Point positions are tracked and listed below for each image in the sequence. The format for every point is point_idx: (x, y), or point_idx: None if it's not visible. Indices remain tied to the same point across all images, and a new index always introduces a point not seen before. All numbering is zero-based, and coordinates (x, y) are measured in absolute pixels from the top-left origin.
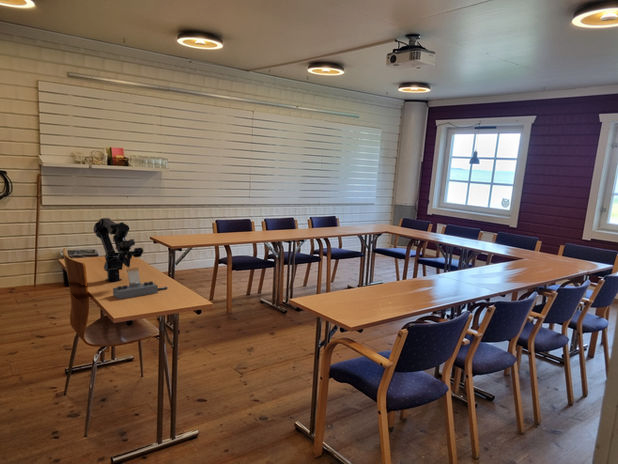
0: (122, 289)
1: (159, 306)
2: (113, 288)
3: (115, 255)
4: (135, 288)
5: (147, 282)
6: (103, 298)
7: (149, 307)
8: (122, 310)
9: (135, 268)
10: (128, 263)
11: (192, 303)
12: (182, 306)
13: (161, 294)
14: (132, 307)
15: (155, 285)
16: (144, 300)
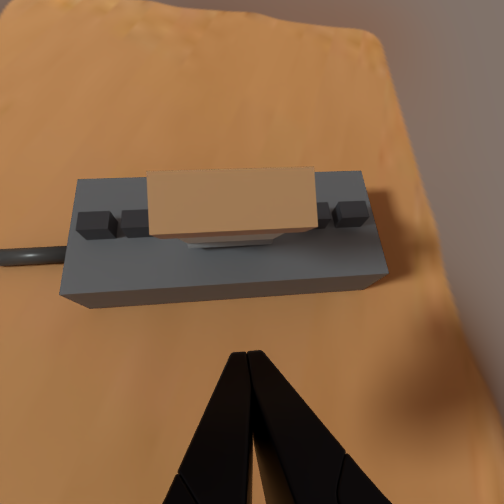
0: (330, 205)
1: (199, 44)
2: (385, 262)
3: None
4: None
5: (126, 213)
6: (418, 269)
7: (240, 52)
8: (347, 72)
9: (198, 174)
10: (250, 389)
11: (64, 13)
12: (121, 7)
13: None
14: (302, 81)
15: (90, 186)
16: (224, 134)
